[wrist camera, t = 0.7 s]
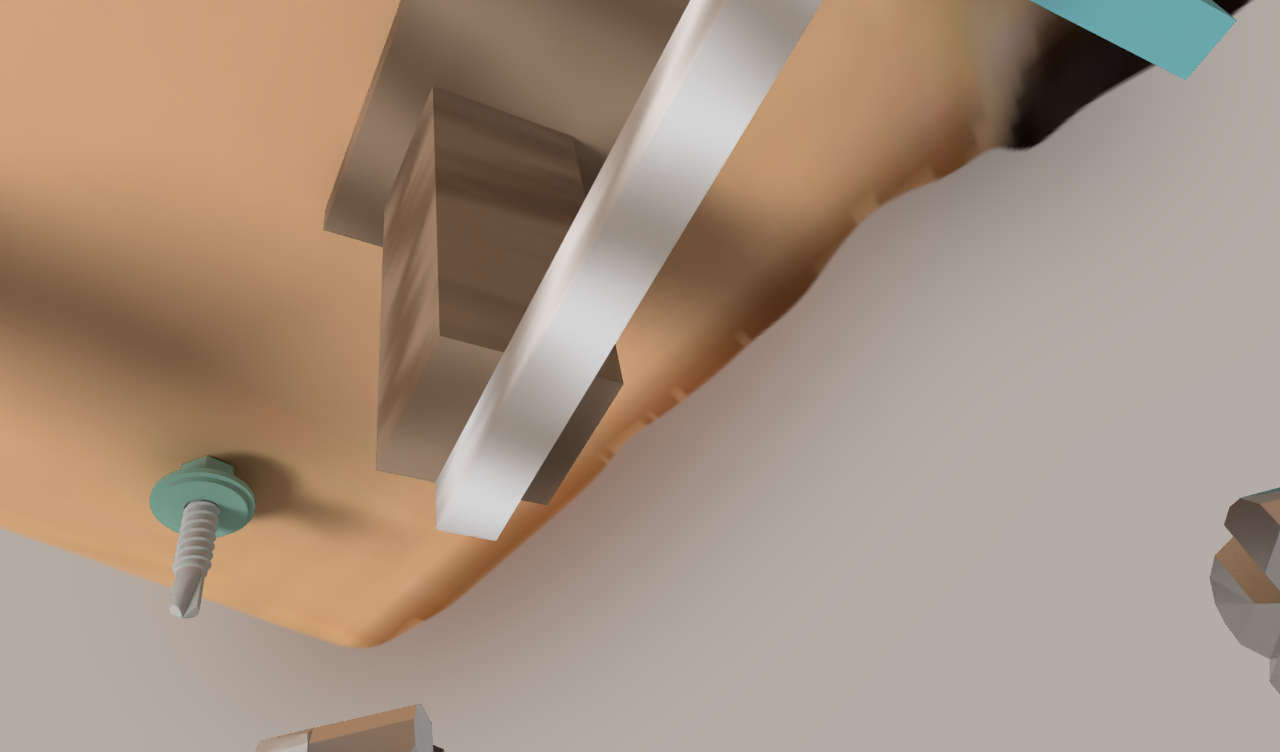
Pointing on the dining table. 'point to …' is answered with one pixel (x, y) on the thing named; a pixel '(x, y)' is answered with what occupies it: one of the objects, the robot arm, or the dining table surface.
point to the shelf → (534, 215)
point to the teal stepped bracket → (1152, 27)
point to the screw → (199, 521)
